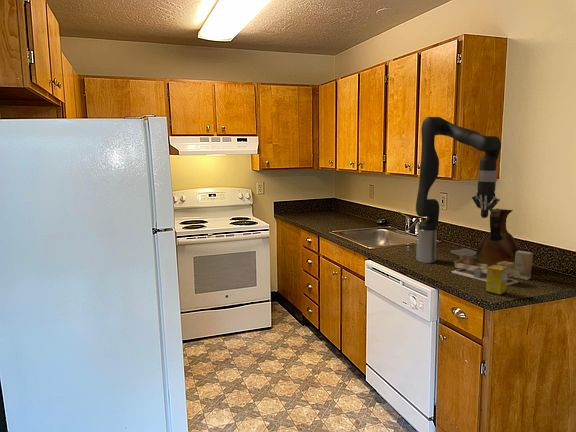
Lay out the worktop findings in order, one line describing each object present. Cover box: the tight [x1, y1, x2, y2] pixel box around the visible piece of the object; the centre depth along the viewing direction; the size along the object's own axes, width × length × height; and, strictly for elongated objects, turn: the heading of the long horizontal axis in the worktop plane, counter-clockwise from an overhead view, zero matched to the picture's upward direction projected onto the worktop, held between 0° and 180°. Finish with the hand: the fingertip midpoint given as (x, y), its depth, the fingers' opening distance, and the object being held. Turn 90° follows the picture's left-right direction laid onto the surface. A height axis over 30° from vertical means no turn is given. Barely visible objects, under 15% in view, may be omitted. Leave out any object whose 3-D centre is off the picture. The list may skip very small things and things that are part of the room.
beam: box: [453, 259, 516, 278], centre depth 200 cm, size 26×7×6 cm, turn 33°
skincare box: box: [512, 250, 534, 281], centre depth 198 cm, size 6×4×12 cm
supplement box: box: [485, 265, 508, 297], centre depth 178 cm, size 6×6×11 cm
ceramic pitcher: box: [476, 208, 521, 267], centre depth 215 cm, size 20×20×30 cm
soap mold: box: [450, 247, 477, 262], centre depth 241 cm, size 10×20×4 cm, turn 14°
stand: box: [450, 268, 519, 286], centre depth 200 cm, size 27×10×4 cm, turn 33°
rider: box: [458, 253, 475, 266], centre depth 207 cm, size 5×4×5 cm
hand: (484, 217), depth 200 cm, fingers closed
